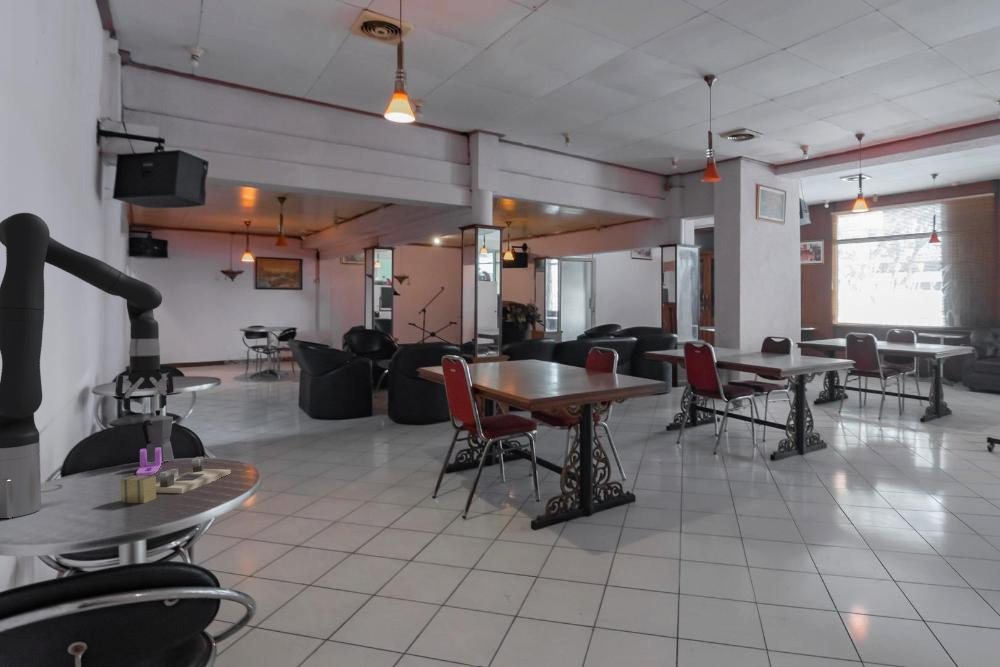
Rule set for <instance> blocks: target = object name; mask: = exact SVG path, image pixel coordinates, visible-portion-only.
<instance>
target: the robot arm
mask: <svg viewBox="0 0 1000 667" xmlns="http://www.w3.org/2000/svg"><path fill="white" fill-rule="evenodd" d="M0 243H1V244H2V245H3V246H4V247H5V254H6V255H5V257H6V263H5V269H4V270H5V271H4V275H3V278H2V281H1V284H0V355H1V373H0V375H1V376H0V518H9V519H12V517H13V518H16V517H23V516H27V515H31V514H33V513H36V512H38V511H40V510H42V485H41V484H42V482H41V454H40V453H41V447H40V444H41V443H40V441H41V439H40V432H39V429H38V427H37V426H36V423H35V413H36V412H37V411H38V410H39V408H40V407H41V405H42V402H43V388H42V376H41V353H42V347H43V333H44V324H45V323H44V322H45V321H44V320H45V264H46V263H47V264H49V265H51V266H53V267H56V268H58V269H59V270H61V271H64V272H65V273H68V274H70V275H72V276H74V277H76V278H78V279H79V280H82V281H83V282H85V283H87V284H89V285H91V286H93V287H95V288H96V289H99V290H101V291H102V292H104V293H107V294H108V295H111V296H113V297H114V296H117V297H120V298H122V299H124V300H126V309H127V314H128V320H129V323H130V327H129V328H130V332H129V333H130V335H129V336H130V341H129V342H130V343H129V347H128V348H129V350H128V354H129V355H128V356H129V373H128V374H127V375H120V374H118V375H116V378H115V392H114V393H115V394H114V395H115V396H116V397H120V398H122V407H123V410H125V411H126V412H130V411H131V398H130V397H131V396H132V394H133V393H134V392H136V390H137V389H138V390H144V389H150V390H151V389H153V388H154V389H155V390H156V391H157V392H158V393H159V396H158V397H159V398H158V400H159V403H158V404H159V409H164V408H165V407H166V406H167V395H169V394H173V393H174V389H175V388H174V379H173V377H174V376H173V373H172V372H167V373H161V351H160V350H161V346H160V339H159V338H160V337H159V336H160V335H159V334H160V333H159V331H160V330H159V322H158V321H157V319H155V316H154V310H155V309H157V308H159V307H160V306H161V304H162V302H163V296H162V294H161V292H160V290H158V289H157V287H155V286H152V285H151V284H149V283H146V282H144V281H143V280H140V279H138V278H135V277H131V276H130V275H127V274H125V273H124V272H122V271H120V269H117V268H115V267H114V266H111V265H110V264H108V263H106V262H104V261H102V260H100V259H98V258H96V257H93V256H90V255H87V254H85V253H82V252H81V251H80V252H79V251H77V250H76V249H74V248H70V247H68V246H66V245H64V244H62V243H61V242H59V241H58V240H56V239H54V237H51V233H50V229H49V227H48V224H47V223H46V222H45V221H44V219H42V218H41V217H40V216H38V215H36V214H34V213H31V212H19V213H15V214H12V215H10V216H8V217H7V218H5V219H3V220H1V221H0ZM162 378H163V380H164V381H165V385H166V389H164V388H163V386H162V385H161V384H160V383H159V382H160V380H162ZM127 380H128V381H129V382H130V385H129V386H128V388H127V389H126V391H124V392H123V387H124V383H126V381H127Z"/></svg>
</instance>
